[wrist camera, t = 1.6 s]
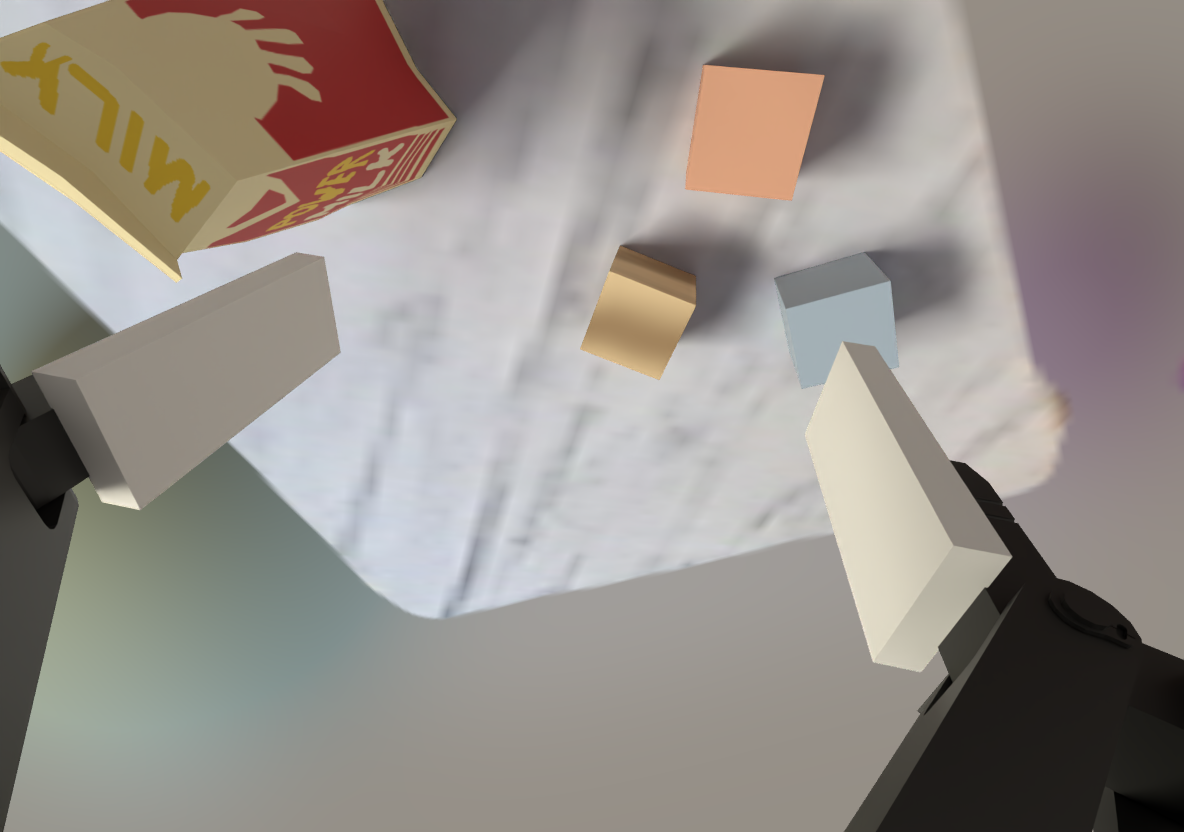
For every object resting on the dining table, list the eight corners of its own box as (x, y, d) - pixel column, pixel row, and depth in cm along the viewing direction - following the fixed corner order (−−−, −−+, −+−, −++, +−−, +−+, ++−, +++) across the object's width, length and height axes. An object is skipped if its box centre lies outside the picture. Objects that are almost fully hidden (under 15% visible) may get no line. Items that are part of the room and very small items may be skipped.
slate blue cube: (774, 277, 32) (785, 309, 28) (864, 251, 31) (890, 280, 26) (788, 350, 34) (801, 388, 30) (873, 329, 33) (899, 367, 29)
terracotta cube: (703, 65, 27) (704, 64, 23) (804, 73, 27) (824, 75, 22) (686, 172, 30) (685, 189, 26) (777, 181, 29) (791, 200, 25)
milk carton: (254, 75, 30) (-264, 87, 14) (366, -34, 27) (-155, -192, 10) (362, 221, 34) (53, 367, 18) (472, 142, 31) (214, 233, 14)
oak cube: (620, 245, 33) (609, 271, 28) (695, 275, 33) (696, 305, 29) (593, 316, 35) (580, 349, 31) (663, 343, 36) (659, 380, 31)
